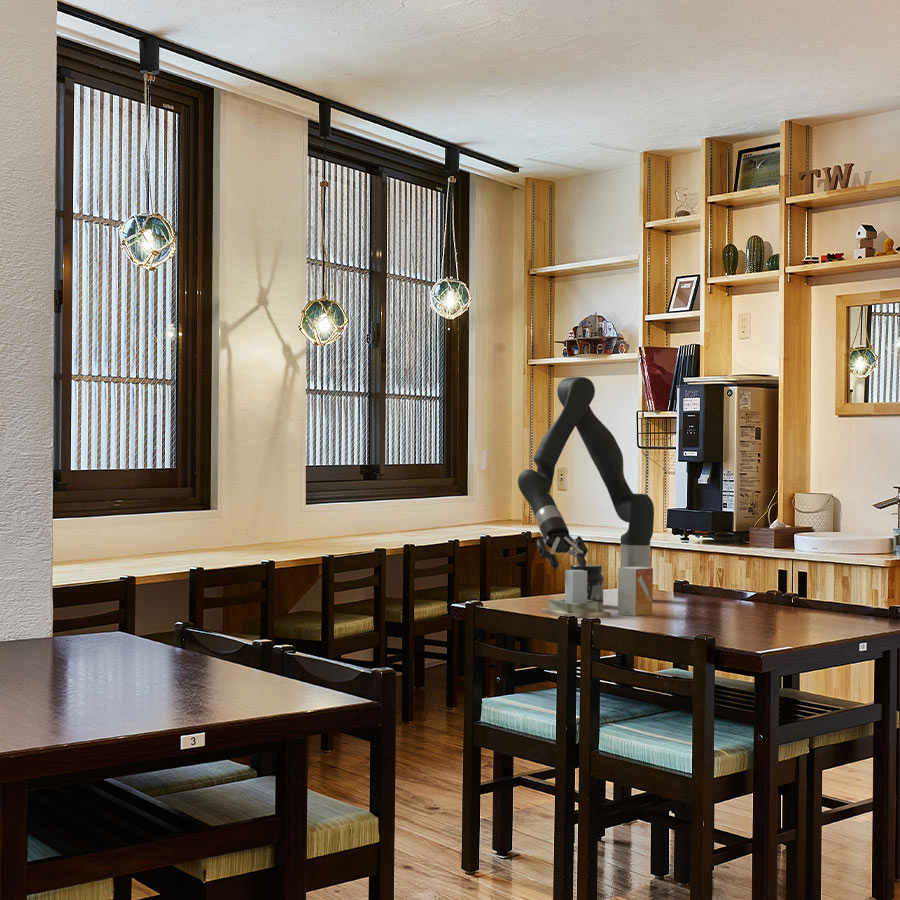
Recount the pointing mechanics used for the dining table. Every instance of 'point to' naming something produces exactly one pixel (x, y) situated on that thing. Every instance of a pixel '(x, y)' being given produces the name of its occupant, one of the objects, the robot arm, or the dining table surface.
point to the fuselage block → (575, 586)
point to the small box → (635, 591)
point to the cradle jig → (576, 609)
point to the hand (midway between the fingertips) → (570, 566)
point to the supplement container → (592, 581)
